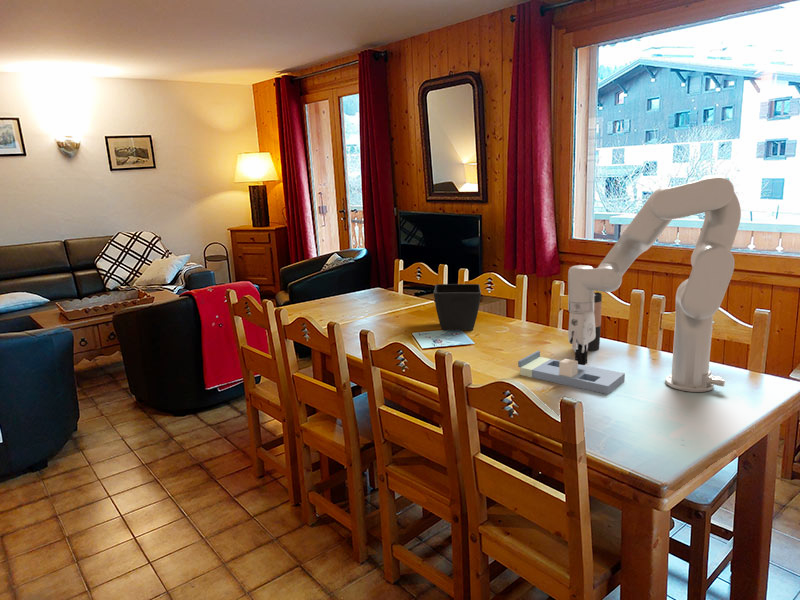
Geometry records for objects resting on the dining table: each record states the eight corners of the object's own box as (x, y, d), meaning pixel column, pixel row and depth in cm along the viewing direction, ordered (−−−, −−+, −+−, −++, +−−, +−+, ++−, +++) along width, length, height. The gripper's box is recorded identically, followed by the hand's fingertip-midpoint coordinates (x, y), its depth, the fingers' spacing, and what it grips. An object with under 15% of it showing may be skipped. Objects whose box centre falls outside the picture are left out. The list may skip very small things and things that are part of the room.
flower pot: (479, 320, 247) (479, 283, 243) (481, 332, 229) (481, 292, 225) (436, 321, 249) (435, 283, 245) (434, 333, 231) (433, 292, 227)
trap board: (624, 381, 171) (625, 366, 170) (607, 394, 162) (608, 379, 161) (537, 363, 190) (537, 350, 189) (518, 374, 180) (518, 361, 179)
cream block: (577, 373, 172) (577, 360, 171) (571, 377, 169) (572, 364, 168) (565, 370, 175) (565, 358, 174) (559, 374, 172) (559, 362, 171)
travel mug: (585, 352, 199) (587, 296, 195) (573, 346, 207) (574, 292, 202) (604, 349, 201) (606, 294, 197) (591, 343, 209) (593, 290, 204)
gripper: (582, 312, 164) (582, 372, 168) (603, 302, 175) (602, 359, 179) (558, 310, 169) (559, 368, 173) (579, 300, 180) (579, 355, 184)
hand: (581, 363), depth 176 cm, fingers closed
